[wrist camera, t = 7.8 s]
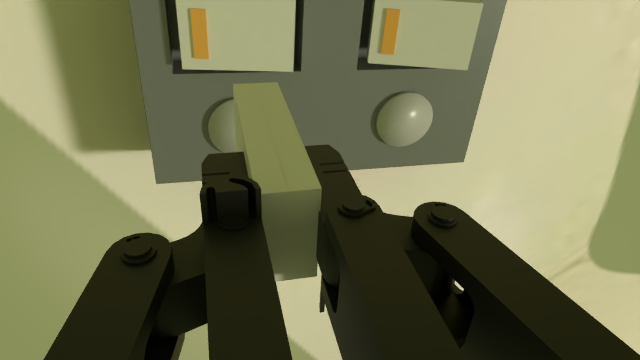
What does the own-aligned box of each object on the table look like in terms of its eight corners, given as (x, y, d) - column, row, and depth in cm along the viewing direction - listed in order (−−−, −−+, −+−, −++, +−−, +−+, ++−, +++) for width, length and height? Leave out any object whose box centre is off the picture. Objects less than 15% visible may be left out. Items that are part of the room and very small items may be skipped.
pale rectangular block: (291, 62, 26) (293, 72, 25) (185, 59, 25) (182, 70, 24) (294, -7, 24) (295, -1, 23) (179, -13, 23) (174, -6, 22)
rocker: (461, 61, 28) (467, 70, 26) (366, 55, 28) (367, 63, 26) (476, -3, 26) (484, 3, 25) (374, -11, 26) (376, -4, 24)
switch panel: (438, 134, 36) (465, 164, 32) (159, 150, 31) (156, 186, 28) (477, -40, 29) (517, -26, 26) (131, -52, 25) (122, -37, 21)
